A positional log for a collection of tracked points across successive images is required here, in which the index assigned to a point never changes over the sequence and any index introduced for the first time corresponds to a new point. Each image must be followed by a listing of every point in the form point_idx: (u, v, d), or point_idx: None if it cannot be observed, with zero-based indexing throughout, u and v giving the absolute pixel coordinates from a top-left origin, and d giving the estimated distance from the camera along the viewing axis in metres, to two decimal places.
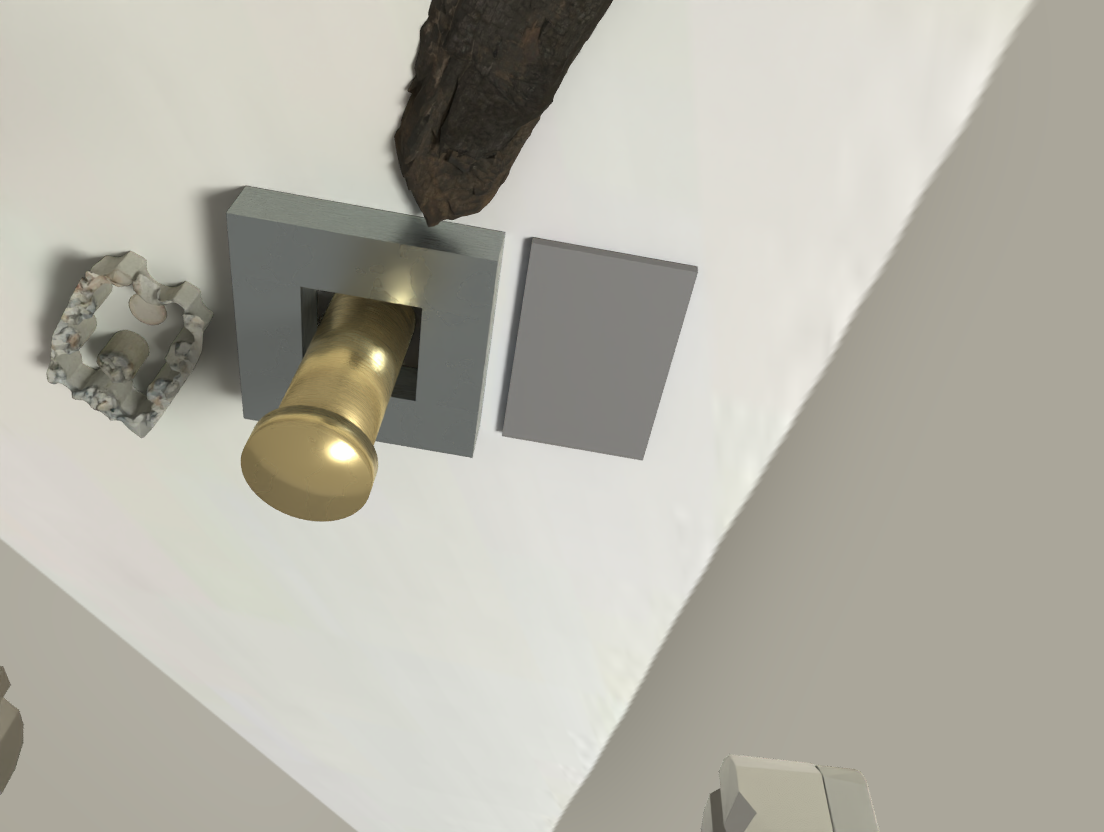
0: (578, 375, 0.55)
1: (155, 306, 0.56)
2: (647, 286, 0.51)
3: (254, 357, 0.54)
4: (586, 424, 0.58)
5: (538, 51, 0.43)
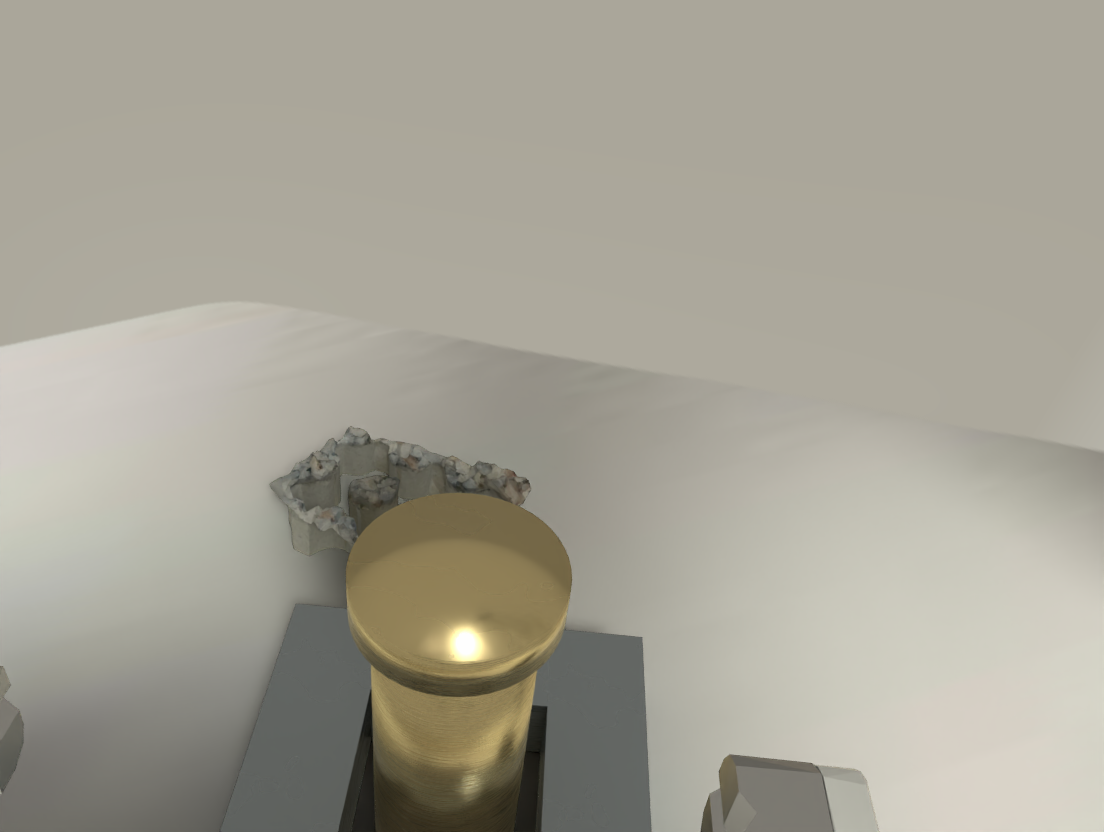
0: None
1: None
2: None
3: None
4: None
5: None
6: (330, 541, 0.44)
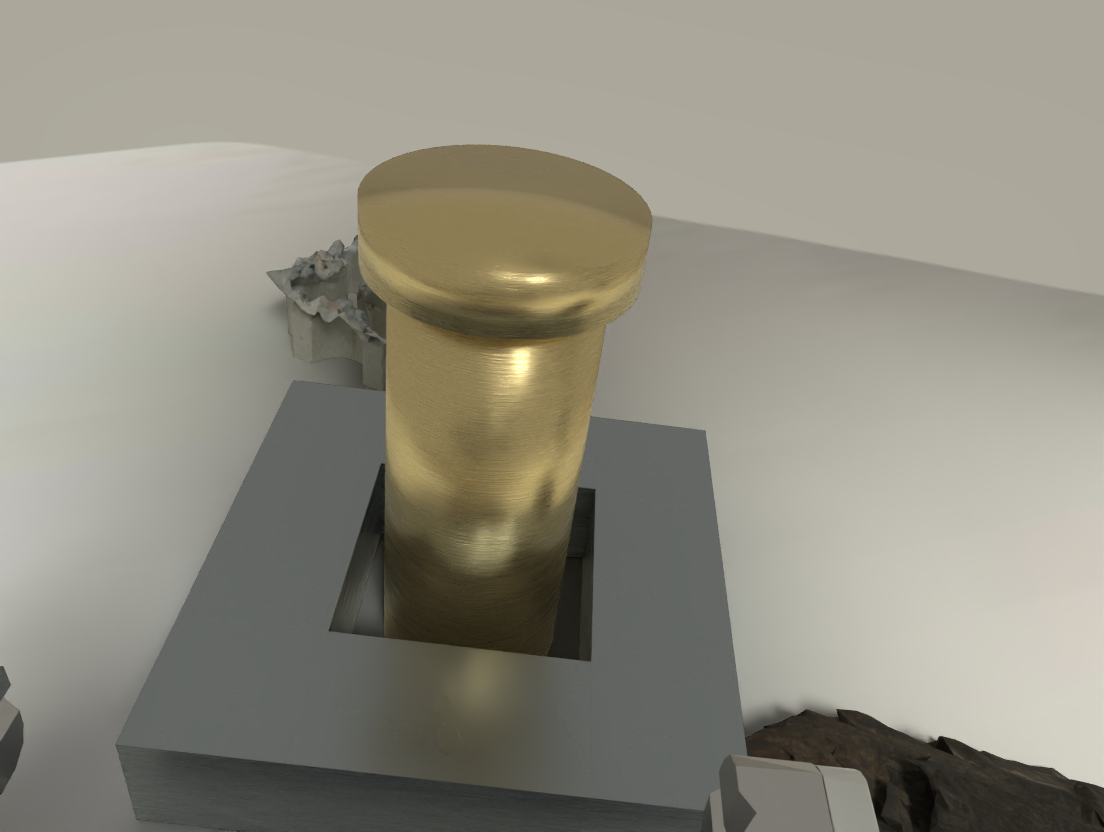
0: None
1: None
2: None
3: None
4: None
5: None
6: (336, 347, 0.38)
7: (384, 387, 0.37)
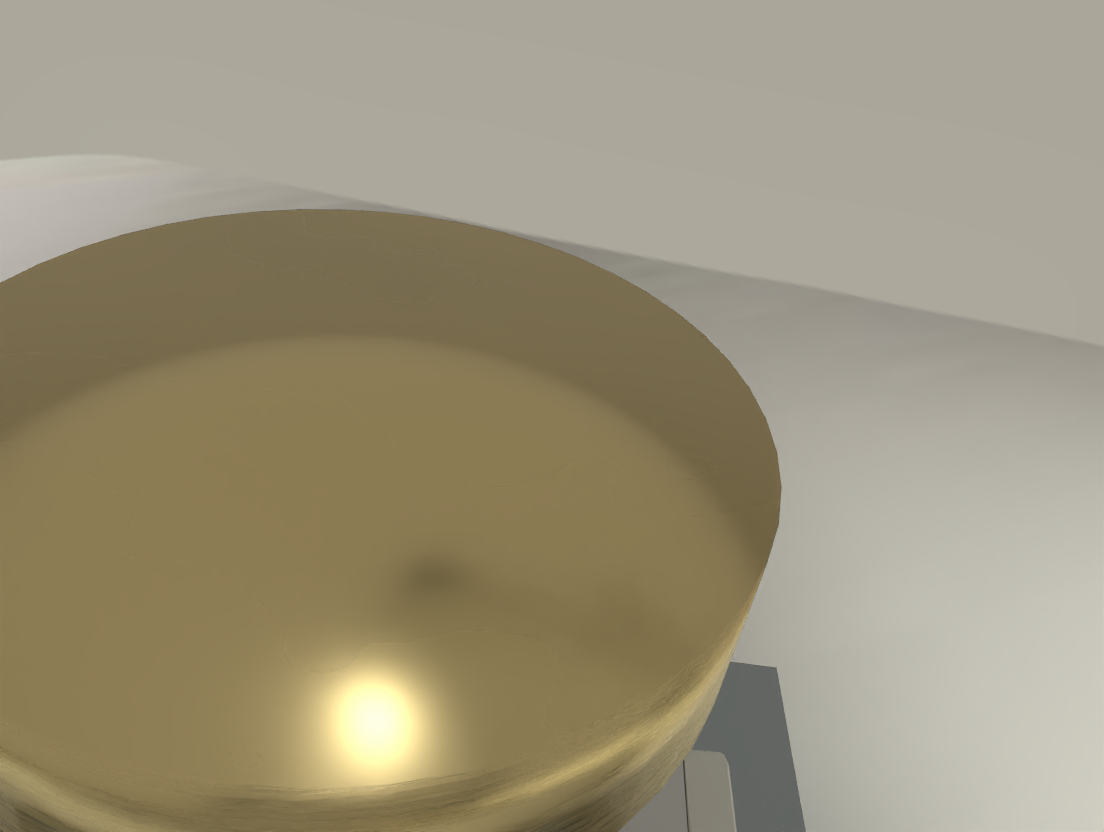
0: None
1: None
2: None
3: None
4: None
5: None
6: None
7: None
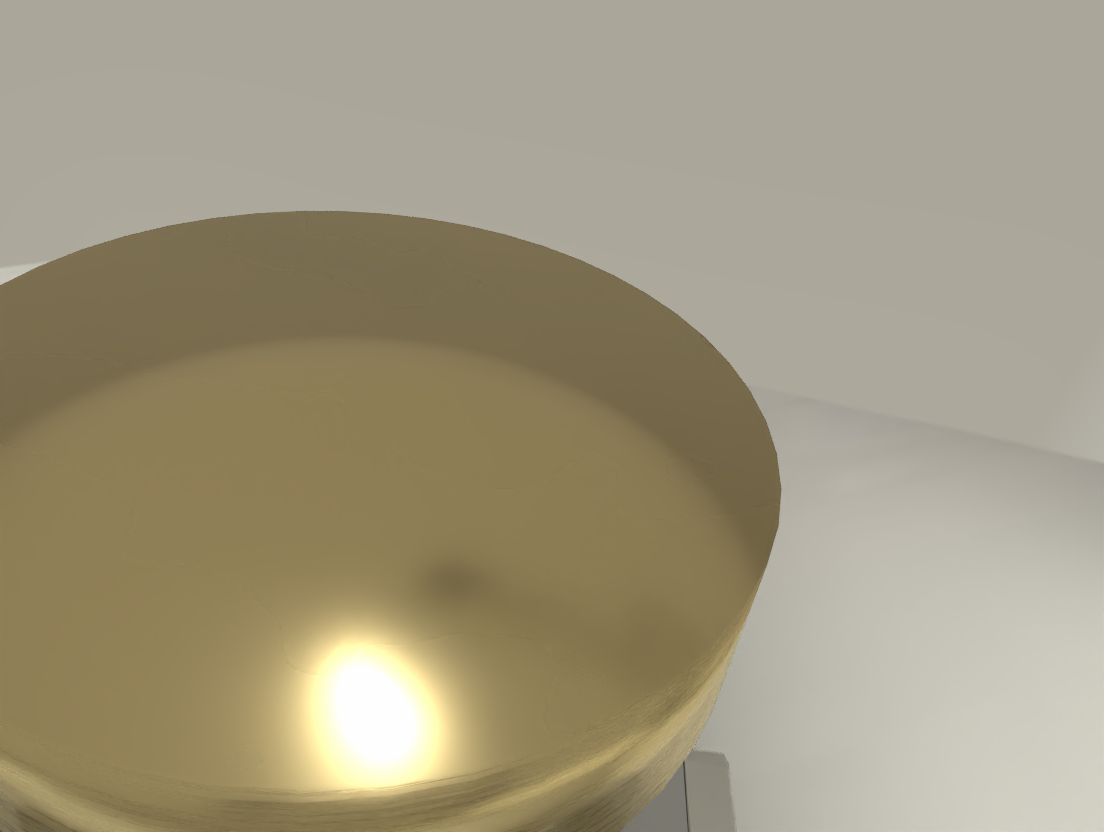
0: None
1: None
2: None
3: None
4: None
5: None
6: None
7: None
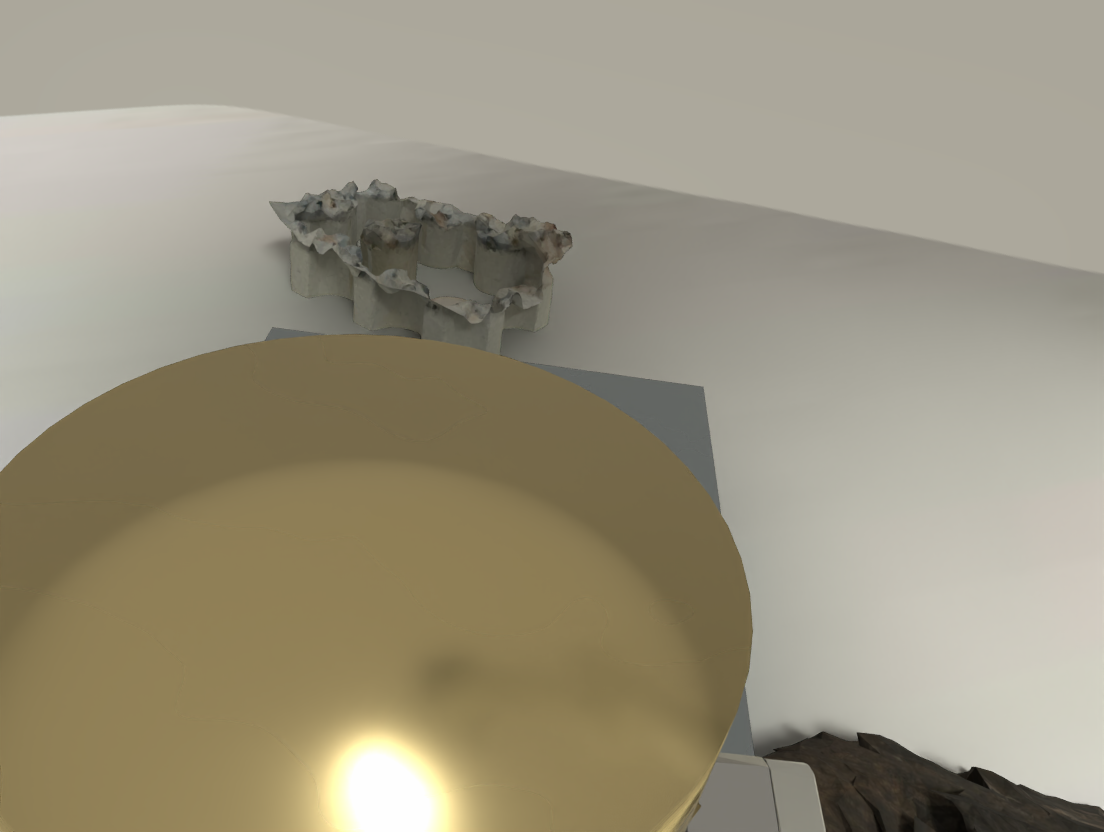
0: None
1: None
2: None
3: None
4: None
5: None
6: (333, 285, 0.38)
7: (373, 326, 0.36)
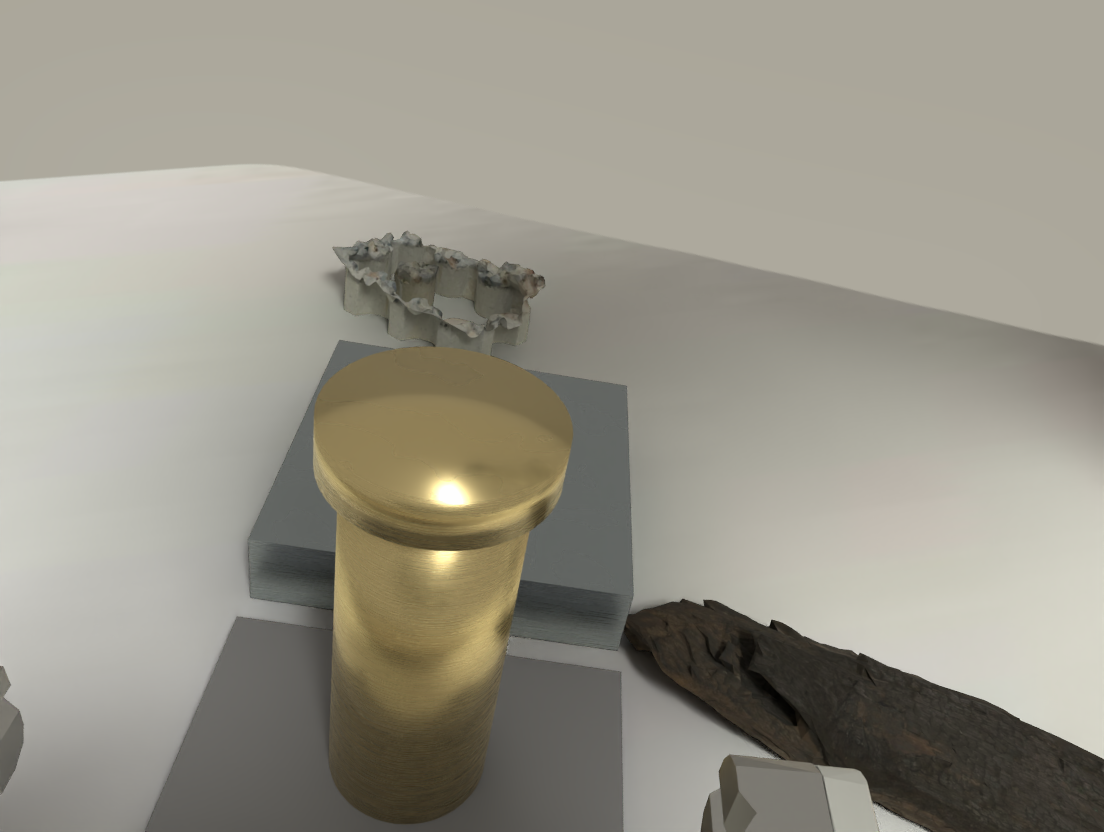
0: None
1: None
2: None
3: None
4: (253, 744, 0.30)
5: (907, 752, 0.32)
6: (374, 307, 0.53)
7: (401, 337, 0.51)
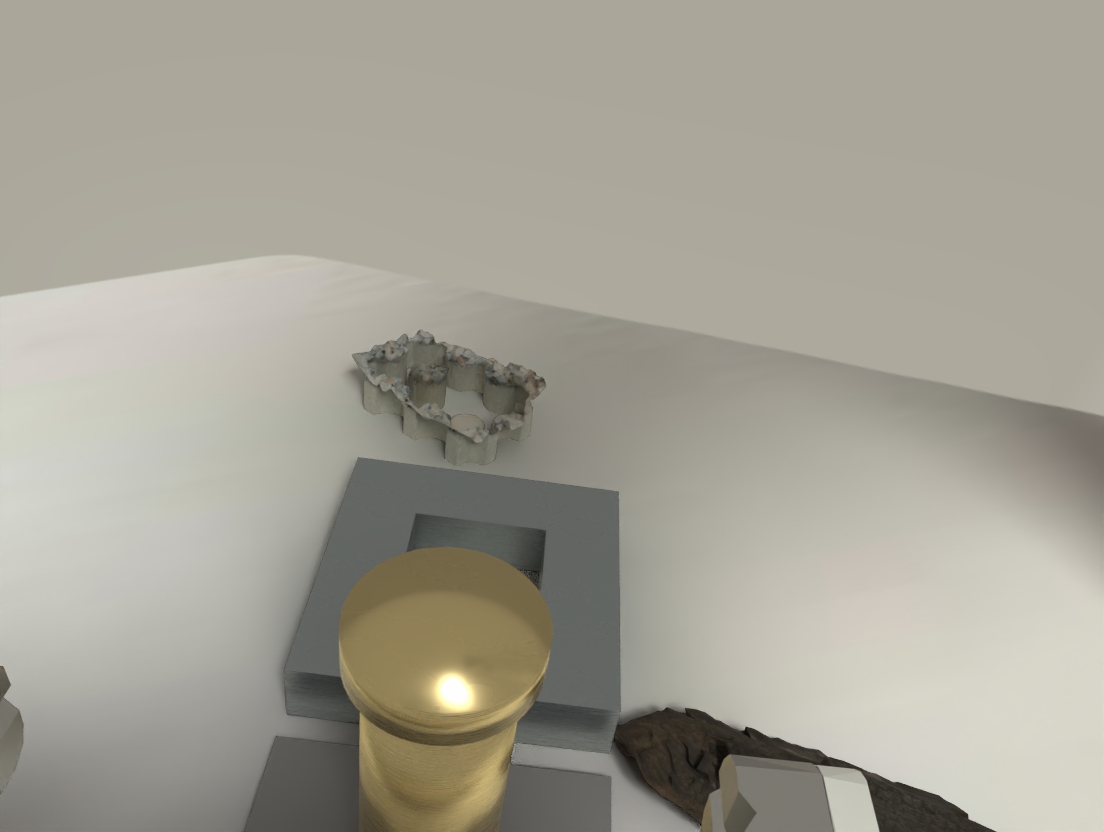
0: None
1: None
2: None
3: (446, 480, 0.49)
4: None
5: None
6: (390, 406, 0.58)
7: (415, 436, 0.56)
